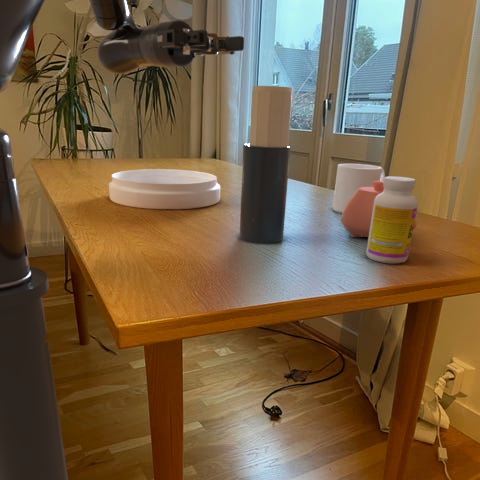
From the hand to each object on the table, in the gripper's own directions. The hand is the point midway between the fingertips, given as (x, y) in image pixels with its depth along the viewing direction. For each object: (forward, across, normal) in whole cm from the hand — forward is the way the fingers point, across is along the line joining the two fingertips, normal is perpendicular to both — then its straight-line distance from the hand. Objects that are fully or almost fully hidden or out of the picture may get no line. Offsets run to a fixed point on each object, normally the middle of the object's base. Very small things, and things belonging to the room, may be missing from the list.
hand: (224, 40), depth 81 cm
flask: (+11, 0, +32) cm, 34 cm away
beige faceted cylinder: (+12, 0, +16) cm, 20 cm away
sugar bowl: (+24, +19, +32) cm, 44 cm away
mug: (+8, +38, +32) cm, 50 cm away
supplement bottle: (+33, +7, +32) cm, 46 cm away
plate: (-29, +8, +32) cm, 44 cm away
